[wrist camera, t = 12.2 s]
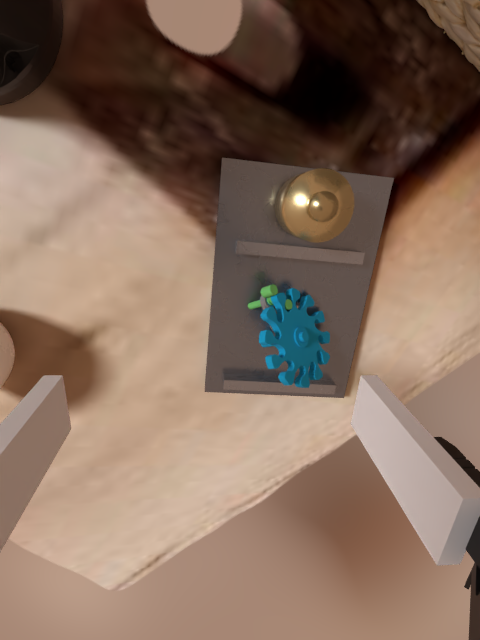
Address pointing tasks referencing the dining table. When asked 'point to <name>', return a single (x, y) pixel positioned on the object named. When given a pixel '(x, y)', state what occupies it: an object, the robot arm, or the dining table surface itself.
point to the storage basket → (458, 24)
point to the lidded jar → (6, 354)
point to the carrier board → (290, 267)
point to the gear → (292, 335)
